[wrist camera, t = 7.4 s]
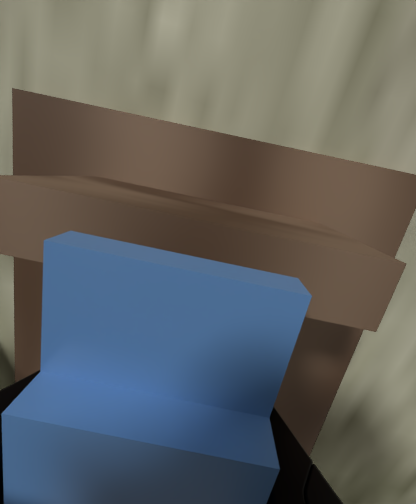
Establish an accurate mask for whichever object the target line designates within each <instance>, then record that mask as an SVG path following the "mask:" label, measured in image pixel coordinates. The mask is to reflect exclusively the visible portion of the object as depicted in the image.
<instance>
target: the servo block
mask: <svg viewBox="0 0 416 504" xmlns="http://www.w3.org/2000/svg"><path fill="white" fill-rule="evenodd" d="M311 298H312V295H311V294H310V293H309V292H308V290H307V289H306V288H305V286H304V285H303V284H302V282H301V281H300V280H299V279H298V278H295V277H290V276H285V275H281V274H276V273H271V272H266V271H261V270H257V269H252V268H247V267H242V266H237V265H233V264H228V263H223V262H218V261H214V260H209V259H204V258H199V257H194V256H190V255H185V254H180V253H175V252H171V251H166V250H161V249H156V248H151V247H147V246H142V245H137V244H132V243H128V242H123V241H118V240H113V239H108V238H104V237H99V236H94V235H89V234H85V233H80V232H75V231H68V232H65V233H62V234H60V235H57V236H54V237H51V238H48V239H46V240H44V250H43V289H42V329H41V369H40V373H39V374H38V375H37V376H36V377H35V378H34V379H33V380H32V381H31V382H30V383H29V384H28V386H27V387H26V388H25V389H24V390H23V391H22V392H21V393H20V394H19V395H18V396H17V397H16V398H15V400H14V401H13V402H12V403H11V404H10V405H9V406H8V407H7V408H6V409H5V410H4V411H3V413H2V414H1V417H2V453H3V488H4V504H266V503H267V501H268V498H269V496H270V493H271V491H272V488H273V486H274V483H275V481H276V478H277V475H278V473H279V470H280V467H279V462H278V458H277V453H276V448H275V443H274V438H273V433H272V428H271V423H270V415H271V412H272V409H273V406H274V403H275V400H276V398H277V395H278V392H279V389H280V386H281V383H282V380H283V378H284V375H285V372H286V369H287V366H288V363H289V360H290V358H291V355H292V352H293V349H294V346H295V343H296V340H297V338H298V335H299V332H300V329H301V326H302V323H303V320H304V318H305V315H306V312H307V309H308V306H309V303H310V300H311Z"/></svg>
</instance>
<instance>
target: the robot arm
mask: <svg viewBox="0 0 416 504" xmlns="http://www.w3.org/2000/svg"><path fill="white" fill-rule="evenodd" d="M39 373H40V370H38V371H36V372H35V373H33V374H31V375H29V376H27V377H25V378H23V379H21V380H19V381H17V382H15V383H14V384H12V385H10V386H8V387H6V388H4V389H2V390H0V504H4V488H3V453H2V417H1V414H2V413H3V411H4V410H5V409H6V408H7V407H8V406H9V405H10V404H11V403H12V402H13V401H14V400H15V398H16V397H17V396H18V395H19V394H20V393H21V392H22V391H23V390H24V389H25V388H26V387H27V386H28V384H29V383H30V382H31V381H32V380H33V379H34V378H35V377H36V376H37V375H38V374H39ZM270 423H271V428H272V433H273V438H274V443H275V448H276V453H277V458H278V462H279V467H280V470H279V473H278V475H277V478H276V481H275V483H274V486H273V488H272V491H271V493H270V496H269V498H268V501H267V503H266V504H343V503H342V501H341V500H340V499H339V497H338V496H337V495H336V493H335V492H334V490H333V489H332V488H331V486H330V485H329V484H328V482H327V481H326V480H325V478H324V477H323V475H322V474H321V472H320V471H319V470H318V468H317V467H316V465H315V464H312V463H313V462H312V460H311V458H310V457H309V456H308V454H307V453H306V451H305V450H304V449H303V447H302V446H301V444H300V443H299V441H298V440H297V439H296V437H295V436H294V434H293V433H292V431H291V430H290V429H289V427H288V426H287V424H286V423H285V422H284V420H283V419H282V417H281V416H280V414H279V413H278V412H277V410H276V409H275V407H274V406H273V409H272V412H271V415H270Z"/></svg>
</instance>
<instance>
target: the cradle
mask: <svg viewBox="0 0 416 504" xmlns="http://www.w3.org/2000/svg"><path fill="white" fill-rule="evenodd" d="M12 106H13V175H0V254H4V255H9V256H13V257H14V330H15V382H17V381H19V380H21V379H23V378H25V377H27V376H29V375H31V374H33V373H35V372H36V371H38V370H40V369H41V329H42V289H43V250H44V240H46V239H48V238H51V237H54V236H57V235H60V234H62V233H65V232H68V231H75V232H80V233H85V234H89V235H94V236H99V237H104V238H108V239H113V240H118V241H123V242H128V243H132V244H137V245H142V246H147V247H151V248H156V249H161V250H166V251H171V252H175V253H180V254H185V255H190V256H194V257H199V258H204V259H209V260H214V261H218V262H223V263H228V264H233V265H237V266H242V267H247V268H252V269H257V270H261V271H266V272H271V273H276V274H281V275H285V276H290V277H295V278H298V279H299V280H300V281H301V282H302V284H303V285H304V286H305V288H306V289H307V290H308V292H309V293H310V294H311V295H312V298H311V300H310V303H309V306H308V309H307V312H306V315H305V318H304V320H303V323H302V326H301V329H300V332H299V335H298V338H297V340H296V343H295V346H294V349H293V352H292V355H291V358H290V360H289V363H288V366H287V369H286V372H285V375H284V378H283V380H282V383H281V386H280V389H279V392H278V395H277V398H276V400H275V403H274V407H275V409H276V410H277V412H278V413H279V414H280V416H281V417H282V419H283V420H284V422H285V423H286V424H287V426H288V427H289V429H290V430H291V431H292V433H293V434H294V436H295V437H296V439H297V440H298V441H299V443H300V444H301V446H302V447H303V449H304V450H305V451H306V453H307V454H308V456H310V453H311V451H312V449H313V446H314V444H315V442H316V439H317V437H318V435H319V432H320V430H321V428H322V425H323V423H324V421H325V418H326V416H327V414H328V411H329V409H330V407H331V404H332V402H333V400H334V397H335V395H336V393H337V390H338V388H339V386H340V383H341V381H342V379H343V377H344V374H345V372H346V370H347V367H348V365H349V363H350V360H351V358H352V356H353V353H354V351H355V349H356V346H357V344H358V342H359V339H360V337H361V335H362V332H363V330H369V331H374V332H376V331H377V329H378V327H379V324H380V322H381V320H382V318H383V315H384V313H385V311H386V309H387V307H388V304H389V302H390V300H391V298H392V295H393V293H394V291H395V289H396V286H397V284H398V282H399V280H400V277H401V275H402V273H403V271H404V268H405V266H406V263H404V262H401V261H399V260H397V259H395V255H396V253H397V251H398V248H399V246H400V244H401V241H402V239H403V237H404V234H405V232H406V230H407V227H408V225H409V223H410V220H411V218H412V216H413V213H414V211H415V209H416V175H414V174H410V173H405V172H400V171H396V170H391V169H386V168H382V167H377V166H372V165H368V164H363V163H358V162H354V161H349V160H344V159H340V158H335V157H330V156H326V155H321V154H316V153H312V152H307V151H303V150H298V149H293V148H289V147H284V146H279V145H275V144H270V143H265V142H261V141H256V140H251V139H247V138H242V137H237V136H233V135H228V134H223V133H219V132H214V131H209V130H205V129H200V128H195V127H191V126H186V125H182V124H177V123H172V122H168V121H163V120H158V119H154V118H149V117H144V116H140V115H135V114H130V113H126V112H121V111H116V110H112V109H107V108H102V107H98V106H93V105H88V104H84V103H79V102H74V101H70V100H65V99H61V98H56V97H51V96H47V95H42V94H37V93H33V92H28V91H23V90H19V89H14V88H12Z"/></svg>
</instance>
